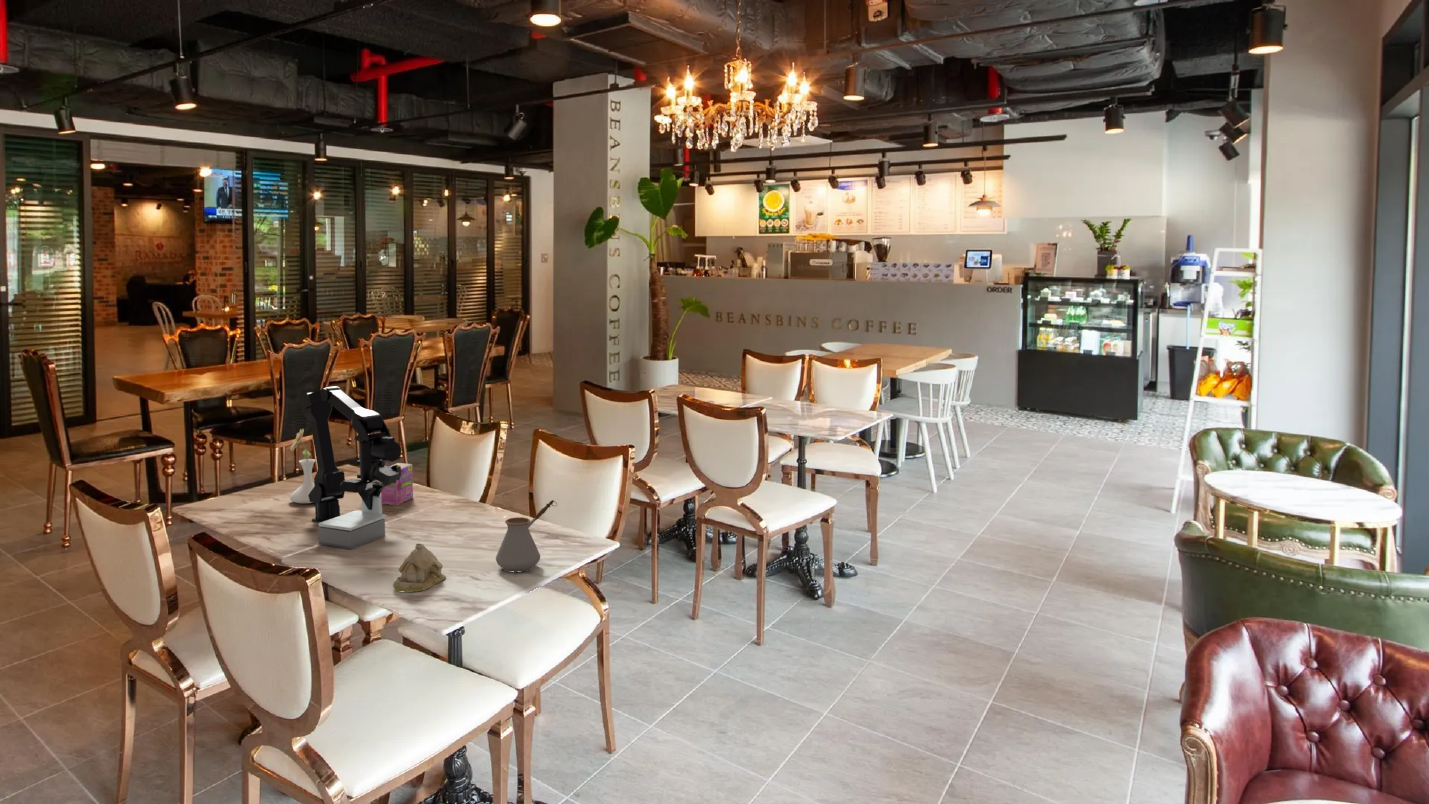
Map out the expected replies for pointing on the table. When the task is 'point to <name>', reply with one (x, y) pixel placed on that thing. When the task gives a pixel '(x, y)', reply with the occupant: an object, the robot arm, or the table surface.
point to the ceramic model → (419, 571)
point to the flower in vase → (307, 464)
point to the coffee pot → (519, 544)
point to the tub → (351, 535)
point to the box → (399, 487)
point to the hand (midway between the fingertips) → (371, 509)
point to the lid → (357, 517)
